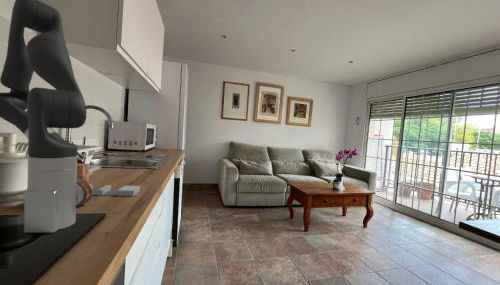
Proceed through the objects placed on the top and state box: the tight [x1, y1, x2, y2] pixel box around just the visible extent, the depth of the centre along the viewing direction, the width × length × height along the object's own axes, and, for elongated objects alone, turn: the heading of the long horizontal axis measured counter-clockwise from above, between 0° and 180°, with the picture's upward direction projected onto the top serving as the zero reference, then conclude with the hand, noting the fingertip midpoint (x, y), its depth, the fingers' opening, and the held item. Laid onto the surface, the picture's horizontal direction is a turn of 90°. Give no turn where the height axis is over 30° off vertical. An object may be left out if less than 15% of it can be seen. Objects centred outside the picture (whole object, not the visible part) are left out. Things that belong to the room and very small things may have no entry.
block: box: [77, 163, 90, 183], centre depth 85 cm, size 4×4×8 cm
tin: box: [76, 178, 93, 207], centre depth 73 cm, size 15×3×8 cm, turn 84°
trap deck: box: [89, 184, 141, 197], centre depth 87 cm, size 7×22×2 cm, turn 99°
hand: (79, 171), depth 85 cm, fingers open, 8 cm apart
